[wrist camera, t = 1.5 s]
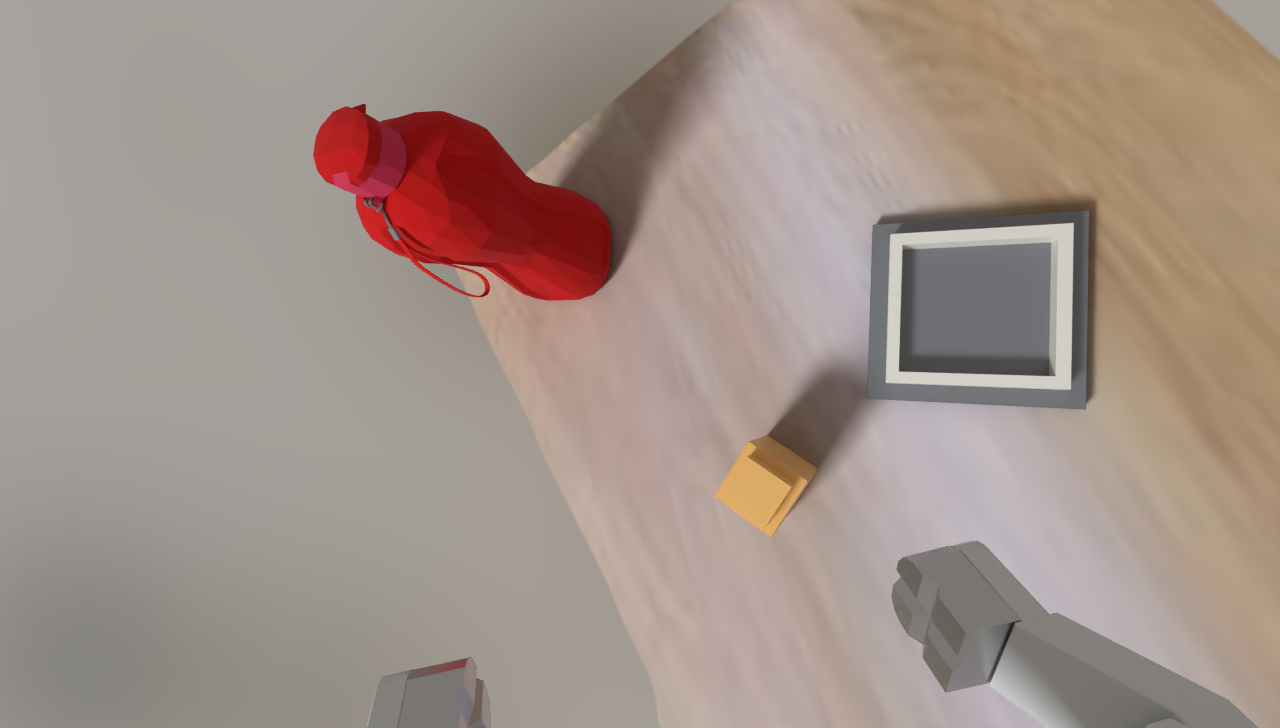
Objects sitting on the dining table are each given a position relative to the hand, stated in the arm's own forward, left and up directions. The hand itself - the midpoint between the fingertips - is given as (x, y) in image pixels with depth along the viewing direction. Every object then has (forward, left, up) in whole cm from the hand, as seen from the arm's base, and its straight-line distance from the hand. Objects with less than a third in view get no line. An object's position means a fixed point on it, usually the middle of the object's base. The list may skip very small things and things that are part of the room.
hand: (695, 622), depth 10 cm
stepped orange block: (+4, +2, -35) cm, 35 cm away
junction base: (-9, -11, -35) cm, 37 cm away
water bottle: (+24, -16, -35) cm, 45 cm away
